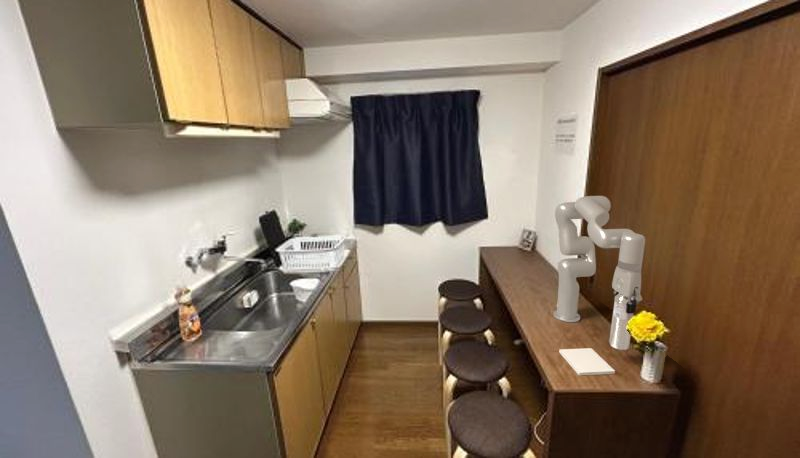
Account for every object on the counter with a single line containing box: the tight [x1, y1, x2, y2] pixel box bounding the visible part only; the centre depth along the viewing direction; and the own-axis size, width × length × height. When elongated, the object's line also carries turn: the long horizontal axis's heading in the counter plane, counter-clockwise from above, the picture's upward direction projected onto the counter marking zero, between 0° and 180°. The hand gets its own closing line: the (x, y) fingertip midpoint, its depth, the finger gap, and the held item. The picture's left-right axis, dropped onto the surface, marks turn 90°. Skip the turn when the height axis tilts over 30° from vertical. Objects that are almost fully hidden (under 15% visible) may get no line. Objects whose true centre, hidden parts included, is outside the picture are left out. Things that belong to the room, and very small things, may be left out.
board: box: [558, 347, 616, 376], centre depth 139 cm, size 16×14×1 cm
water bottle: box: [608, 293, 634, 351], centre depth 135 cm, size 7×7×25 cm
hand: (623, 308), depth 134 cm, fingers closed on water bottle, 6 cm apart
